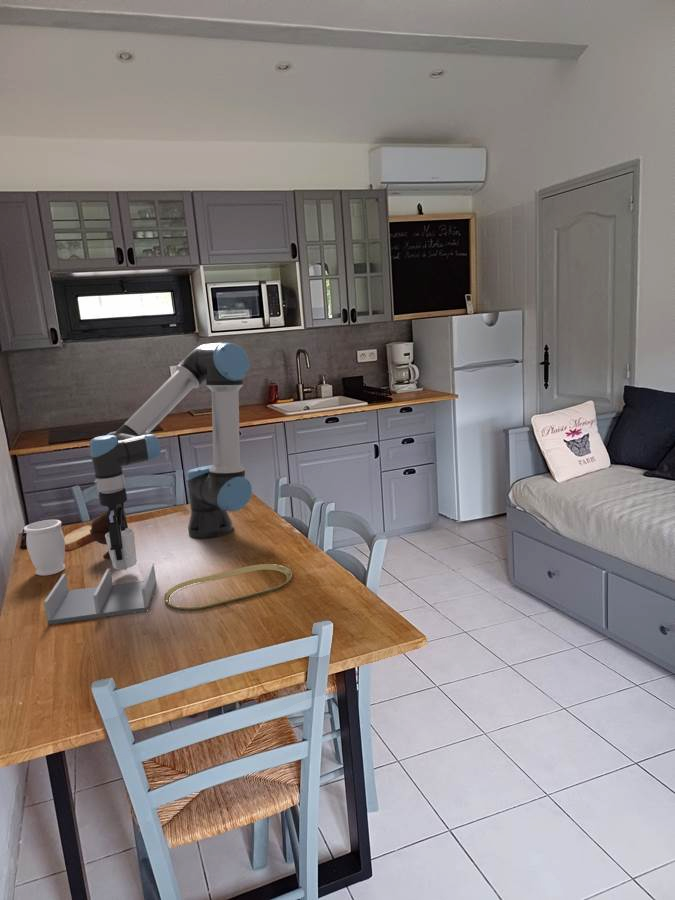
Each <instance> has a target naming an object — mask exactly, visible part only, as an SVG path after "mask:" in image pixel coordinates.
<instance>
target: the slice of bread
mask: <svg viewBox="0 0 675 900" xmlns="http://www.w3.org/2000/svg"><path fill="white" fill-rule="evenodd" d="M91 525H92V524H91ZM91 525H90V524H89V525H88V524H87V525H83V526H82V527H79V528H77V529H74V530H72V531H71V532H70V533H67V534H65V535H64V540H65V550H69V551H73V550H75V549H78V548H80V546H81V547H83V546H85V545H87V544H89V543H90V541H91V542H93V541H95V539H94V538H93V537H92V535H91V533H90V530H91ZM92 540H93V541H92ZM88 542H89V543H88ZM86 543H87V544H86ZM84 544H85V545H84ZM82 545H83V546H82ZM72 549H73V550H72Z"/></svg>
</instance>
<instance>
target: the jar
mask: <svg viewBox="0 0 675 900" xmlns="http://www.w3.org/2000/svg"><path fill="white" fill-rule="evenodd" d="M61 526H62V521H61V520H60V519H44V520H41V521H40V520H38V521H35V522H31V523H29V524H27V525H25V526H24V527H23V531H24V533H25V534H26V539H25V541H26V548H27V552H28V554H29V557H30V560H31V562H32V564H33V566H34V567H35V575H38V576H44V577H45V576H51V575H55V574H58V573H61V572H62V571H64V570H65V569H66V564H65V563H64V562H65V557H66V553H65V552H66V551H65V540H64V537H65V535H64V532H63V530H62V528H61Z"/></svg>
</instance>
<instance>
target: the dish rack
mask: <svg viewBox="0 0 675 900" xmlns="http://www.w3.org/2000/svg"><path fill="white" fill-rule="evenodd" d="M146 572H147V573H146V575H145V578H144V580H140V581H132V582H131V581H130V582H124V583H116V584H114V583H113V578H112V573H111V568H110V567H109V568H106V569H105V572H104V574H103V576H102V578H101V580H100V582H99V584H98V585H97V586H94V587H85V588H79V589H71V590H70V589H69V583H68V578H67V577H68V576H67V573H62V574H61V576H60V578H59V579H58V580H57V582H56V583H55V585H54V586H53V588H52V590H51V591H50V592H49V594H48V595H47V597H46V598H45V600H44V601H43V605H44V611H45V615H46V616H45V617H46V620H47V621H46V622H47V625H48V626H49V625H57V624H65V623H72V622H79V621H87V620H95V619H102V618H108V617H107V616H110V617H116V616H115V615H117V616H123V615H122V614H125V615H129V613H132V614H135V613H134V612H139V613H141V612H140V611H147V610H148V609H150V607H149V605H150V606H151V603H152V600H153V597H152V595H153V596H154V593H155V590H156V586H157V577H156V570H155V563H154V562H150V564H149V567H148V569H147V571H146ZM154 589H155V590H154ZM153 592H154V593H153ZM151 599H152V600H151ZM150 602H151V603H150ZM148 611H149V610H148ZM148 611H147V612H148Z"/></svg>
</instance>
